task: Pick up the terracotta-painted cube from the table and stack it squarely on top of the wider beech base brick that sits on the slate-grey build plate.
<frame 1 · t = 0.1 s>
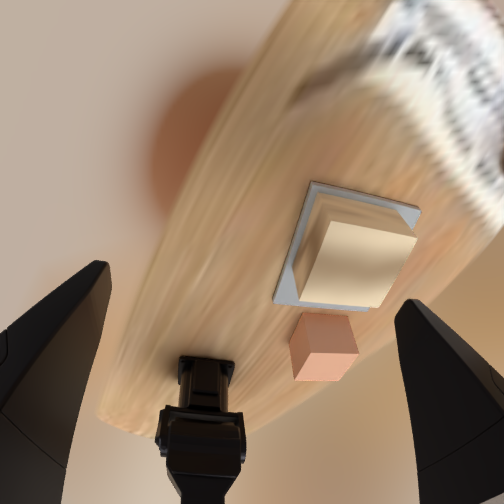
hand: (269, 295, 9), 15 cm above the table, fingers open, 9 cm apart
top brick: (317, 329, 33), on the table
build plate: (344, 255, 27), on the table
base brick: (344, 238, 25), point 1 cm above the table, touching build plate
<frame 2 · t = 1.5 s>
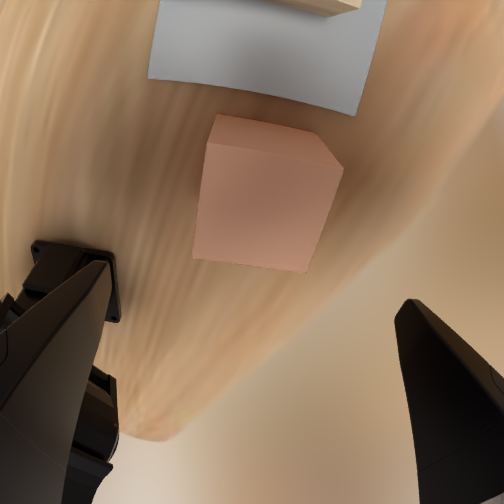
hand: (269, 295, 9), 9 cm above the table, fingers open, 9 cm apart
top brick: (256, 167, 16), on the table
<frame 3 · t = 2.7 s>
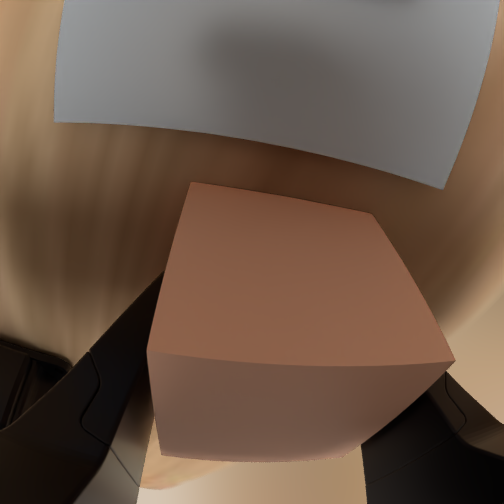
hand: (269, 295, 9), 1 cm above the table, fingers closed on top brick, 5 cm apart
top brick: (266, 270, 10), on the table, touching gripper
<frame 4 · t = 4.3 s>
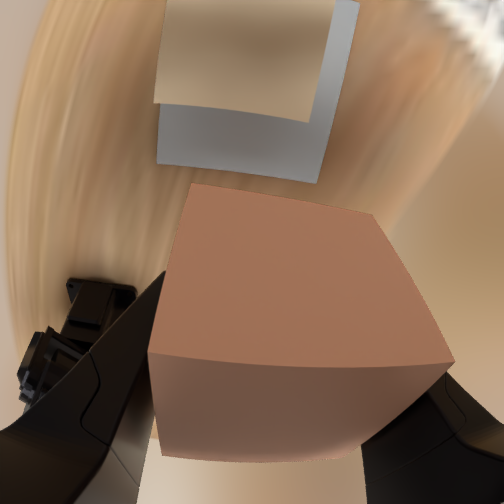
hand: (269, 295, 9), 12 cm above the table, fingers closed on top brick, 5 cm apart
top brick: (266, 271, 10), point 11 cm above the table, touching gripper
build plate: (253, 74, 16), on the table
base brick: (242, 39, 14), point 1 cm above the table, touching build plate
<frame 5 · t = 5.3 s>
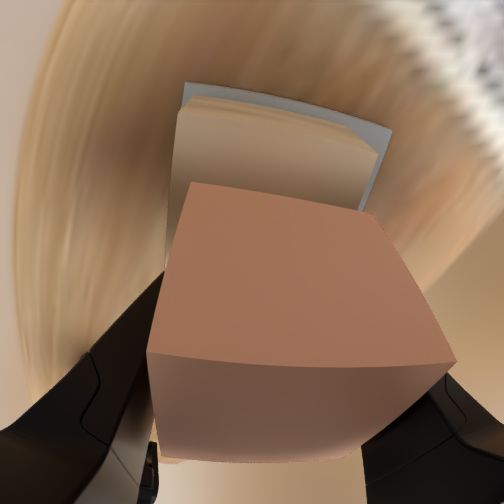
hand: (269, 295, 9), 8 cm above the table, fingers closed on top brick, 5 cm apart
top brick: (266, 271, 9), point 7 cm above the table, touching gripper
build plate: (266, 209, 17), on the table
base brick: (256, 176, 15), point 1 cm above the table, touching build plate
when the fingers open (7 cm above the table, at t = 6.0 s): top brick drops 1 cm, resting on base brick.
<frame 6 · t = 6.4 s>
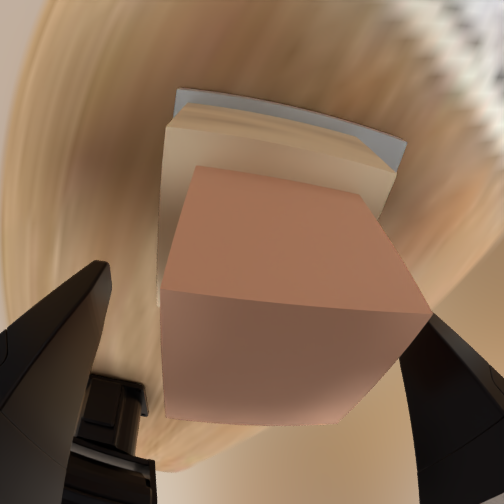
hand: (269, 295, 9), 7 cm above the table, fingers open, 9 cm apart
top brick: (264, 248, 10), point 5 cm above the table, touching base brick
build plate: (268, 227, 15), on the table
base brick: (257, 193, 14), point 1 cm above the table, touching build plate, top brick
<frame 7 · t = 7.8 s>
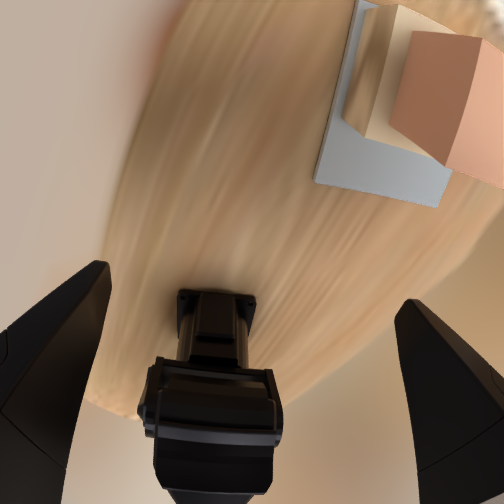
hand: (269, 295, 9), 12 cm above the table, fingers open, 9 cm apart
top brick: (442, 94, 12), point 5 cm above the table, touching base brick
build plate: (406, 111, 17), on the table
base brick: (406, 80, 15), point 1 cm above the table, touching build plate, top brick
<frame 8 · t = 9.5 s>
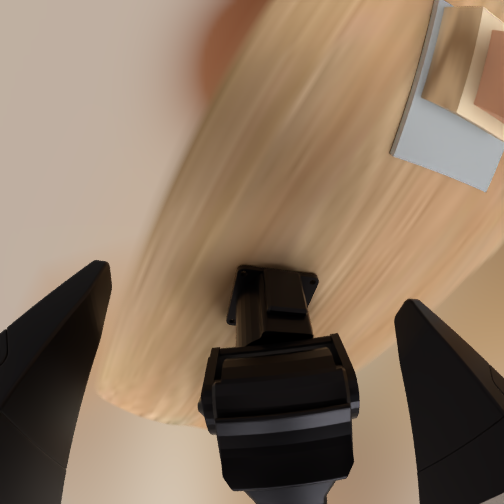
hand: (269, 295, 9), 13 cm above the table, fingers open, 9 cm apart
build plate: (468, 101, 16), on the table
base brick: (471, 72, 14), point 1 cm above the table, touching build plate, top brick
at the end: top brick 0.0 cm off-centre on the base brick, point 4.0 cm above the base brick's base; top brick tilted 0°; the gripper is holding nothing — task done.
